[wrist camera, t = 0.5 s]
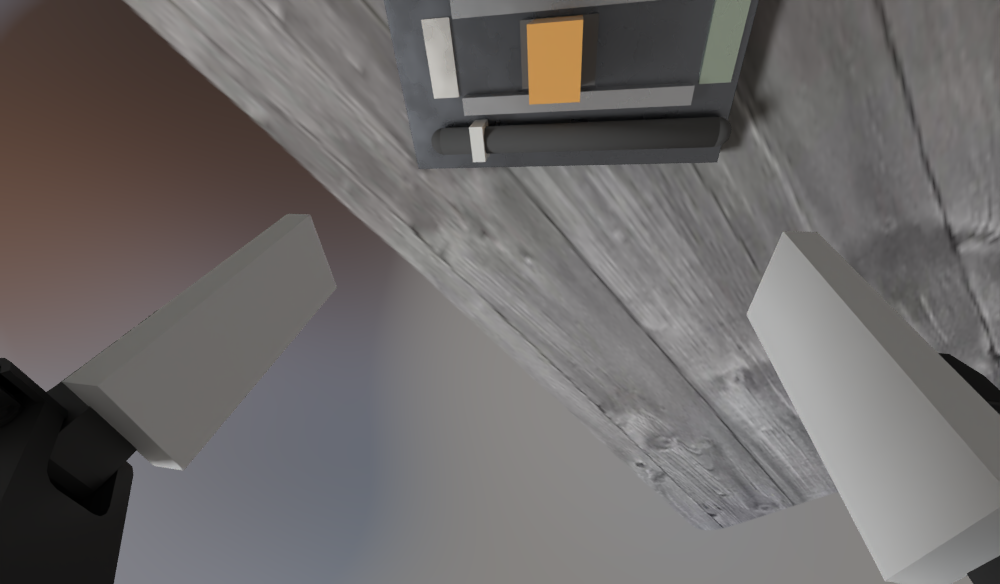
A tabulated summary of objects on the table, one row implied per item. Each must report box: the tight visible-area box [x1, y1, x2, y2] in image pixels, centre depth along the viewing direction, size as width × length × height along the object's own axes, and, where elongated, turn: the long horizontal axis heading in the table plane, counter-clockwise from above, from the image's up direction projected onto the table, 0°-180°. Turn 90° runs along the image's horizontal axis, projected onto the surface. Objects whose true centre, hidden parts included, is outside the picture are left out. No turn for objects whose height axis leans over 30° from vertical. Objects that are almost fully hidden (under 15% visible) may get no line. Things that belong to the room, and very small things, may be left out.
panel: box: [384, 0, 759, 169], centre depth 27 cm, size 16×24×3 cm, turn 94°
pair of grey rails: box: [431, 117, 731, 162], centre depth 26 cm, size 14×22×2 cm, turn 94°
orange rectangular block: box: [520, 13, 599, 105], centre depth 24 cm, size 4×5×6 cm
